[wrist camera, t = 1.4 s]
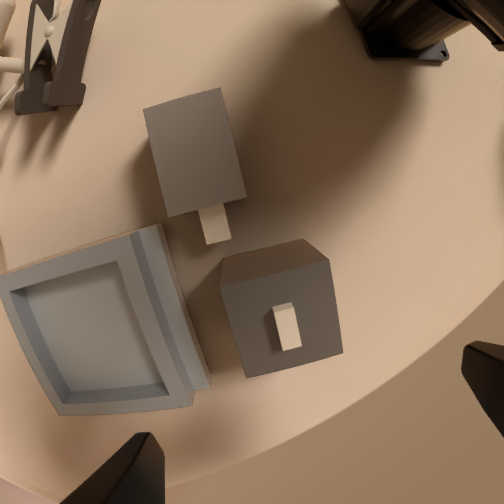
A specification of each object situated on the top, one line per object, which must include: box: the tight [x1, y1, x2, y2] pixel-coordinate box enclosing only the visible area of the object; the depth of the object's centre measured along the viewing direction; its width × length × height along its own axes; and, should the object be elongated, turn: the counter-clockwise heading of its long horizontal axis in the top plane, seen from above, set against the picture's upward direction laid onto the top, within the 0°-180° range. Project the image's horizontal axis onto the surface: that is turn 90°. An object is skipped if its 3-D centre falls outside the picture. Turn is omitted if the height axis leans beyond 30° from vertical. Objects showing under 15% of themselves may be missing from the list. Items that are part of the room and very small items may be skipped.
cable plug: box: [143, 88, 247, 245], centre depth 15 cm, size 4×7×4 cm, turn 13°
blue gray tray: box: [0, 222, 212, 416], centre depth 16 cm, size 12×10×3 cm
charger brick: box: [219, 239, 343, 378], centre depth 15 cm, size 4×4×6 cm
